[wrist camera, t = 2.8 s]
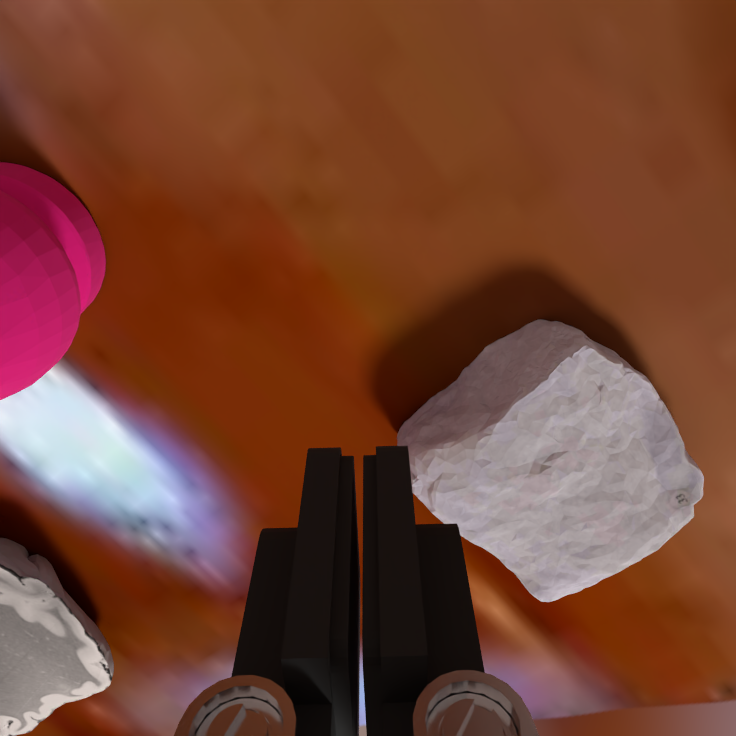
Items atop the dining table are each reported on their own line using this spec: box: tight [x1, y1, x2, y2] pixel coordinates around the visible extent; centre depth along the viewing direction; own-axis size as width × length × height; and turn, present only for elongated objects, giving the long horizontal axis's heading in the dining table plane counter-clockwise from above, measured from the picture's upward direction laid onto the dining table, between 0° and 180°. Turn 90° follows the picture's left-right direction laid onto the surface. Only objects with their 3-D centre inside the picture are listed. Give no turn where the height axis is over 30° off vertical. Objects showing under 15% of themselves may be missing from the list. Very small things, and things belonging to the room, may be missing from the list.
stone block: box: [397, 319, 704, 602], centre depth 28 cm, size 12×5×10 cm
